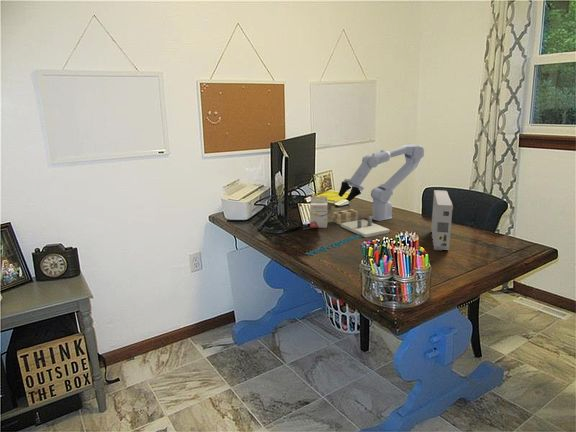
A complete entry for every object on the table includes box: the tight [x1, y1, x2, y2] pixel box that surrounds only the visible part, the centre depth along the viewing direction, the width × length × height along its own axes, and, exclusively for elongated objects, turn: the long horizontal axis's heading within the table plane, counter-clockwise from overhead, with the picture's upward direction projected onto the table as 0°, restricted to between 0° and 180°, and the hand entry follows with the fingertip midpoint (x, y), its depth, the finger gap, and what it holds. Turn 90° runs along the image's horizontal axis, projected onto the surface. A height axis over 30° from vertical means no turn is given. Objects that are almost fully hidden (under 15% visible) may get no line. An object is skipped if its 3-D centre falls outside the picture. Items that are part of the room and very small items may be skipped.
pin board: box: [340, 217, 391, 238], centre depth 202 cm, size 14×20×5 cm
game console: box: [430, 189, 454, 251], centre depth 180 cm, size 6×27×20 cm, turn 164°
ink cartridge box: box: [309, 196, 328, 229], centre depth 207 cm, size 9×5×15 cm, turn 84°
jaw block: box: [332, 208, 359, 225], centre depth 215 cm, size 5×12×5 cm, turn 117°
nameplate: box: [304, 234, 363, 256], centre depth 183 cm, size 37×1×5 cm
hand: (343, 198), depth 210 cm, fingers open, 7 cm apart
